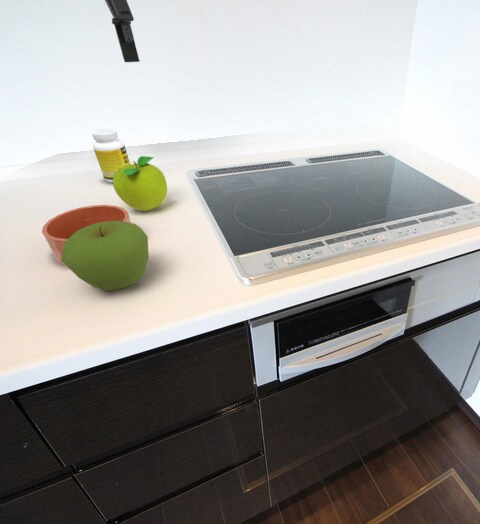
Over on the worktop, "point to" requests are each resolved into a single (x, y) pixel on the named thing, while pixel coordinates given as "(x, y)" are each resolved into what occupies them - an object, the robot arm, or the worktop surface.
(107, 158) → the pill bottle
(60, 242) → the bowl
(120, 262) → the apple
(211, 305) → the worktop surface
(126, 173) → the fruit
